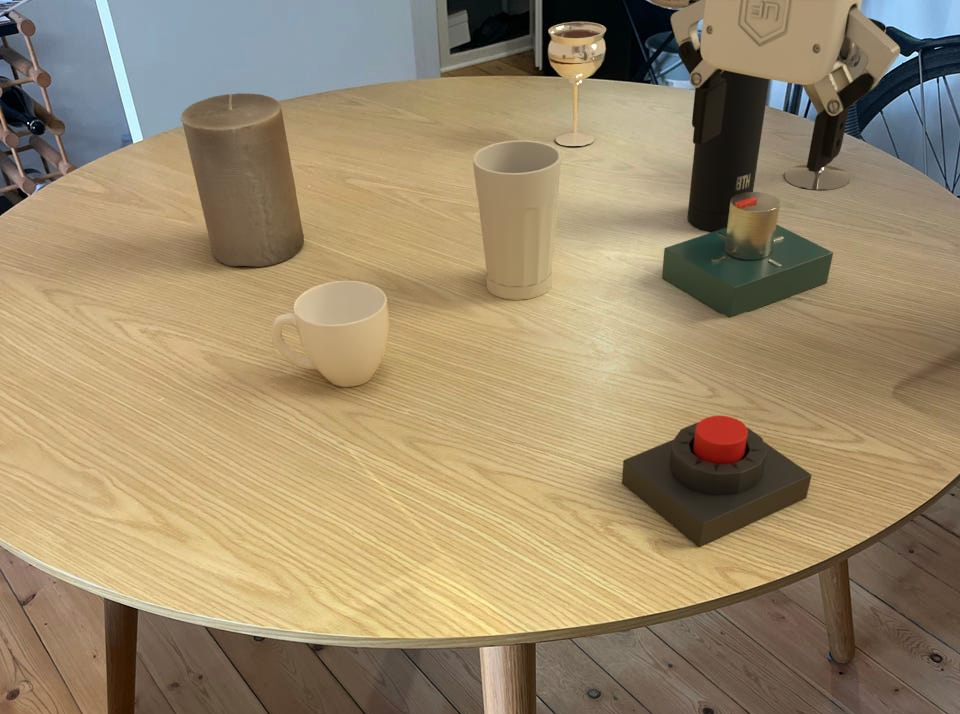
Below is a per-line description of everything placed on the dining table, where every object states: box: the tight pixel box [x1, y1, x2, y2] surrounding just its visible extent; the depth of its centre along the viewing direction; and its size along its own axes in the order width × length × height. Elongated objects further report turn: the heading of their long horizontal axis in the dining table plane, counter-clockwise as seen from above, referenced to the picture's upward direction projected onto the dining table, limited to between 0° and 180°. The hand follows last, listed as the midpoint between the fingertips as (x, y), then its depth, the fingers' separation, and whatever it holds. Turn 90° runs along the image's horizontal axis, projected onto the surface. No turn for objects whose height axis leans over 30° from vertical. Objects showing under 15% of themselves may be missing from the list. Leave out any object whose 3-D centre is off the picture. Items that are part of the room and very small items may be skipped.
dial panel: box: [661, 223, 834, 319], centre depth 97 cm, size 12×10×3 cm
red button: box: [693, 415, 748, 464], centre depth 72 cm, size 4×4×2 cm
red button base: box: [621, 421, 813, 548], centre depth 74 cm, size 10×9×4 cm
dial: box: [724, 191, 781, 260], centre depth 94 cm, size 4×4×5 cm
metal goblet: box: [784, 17, 887, 191], centre depth 109 cm, size 8×8×15 cm
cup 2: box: [472, 140, 563, 301], centre depth 95 cm, size 8×8×12 cm
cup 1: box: [271, 280, 390, 388], centre depth 87 cm, size 8×10×7 cm
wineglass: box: [547, 21, 607, 144], centre depth 121 cm, size 7×7×12 cm
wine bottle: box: [686, 70, 770, 232], centre depth 97 cm, size 6×6×30 cm
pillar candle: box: [180, 92, 305, 268], centre depth 103 cm, size 10×10×15 cm
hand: (761, 152), depth 78 cm, fingers open, 9 cm apart
